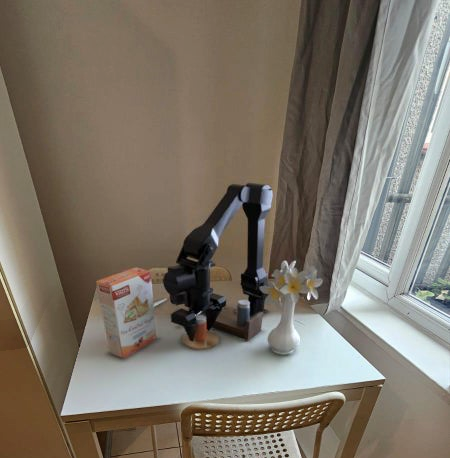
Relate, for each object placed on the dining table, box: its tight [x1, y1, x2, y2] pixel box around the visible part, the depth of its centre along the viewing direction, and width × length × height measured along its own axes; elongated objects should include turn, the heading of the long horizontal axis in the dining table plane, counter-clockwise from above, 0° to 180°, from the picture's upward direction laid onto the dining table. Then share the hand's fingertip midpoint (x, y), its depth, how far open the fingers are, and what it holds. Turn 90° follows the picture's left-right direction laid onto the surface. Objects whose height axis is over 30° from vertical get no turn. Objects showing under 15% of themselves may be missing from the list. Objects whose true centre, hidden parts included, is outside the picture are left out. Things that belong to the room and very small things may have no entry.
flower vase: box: [259, 258, 323, 356], centre depth 90 cm, size 13×18×25 cm
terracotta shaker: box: [194, 315, 208, 342], centre depth 99 cm, size 4×4×7 cm
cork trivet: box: [181, 330, 219, 351], centre depth 101 cm, size 11×11×1 cm
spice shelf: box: [188, 307, 264, 342], centre depth 108 cm, size 8×23×6 cm, turn 55°
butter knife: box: [153, 298, 168, 308], centre depth 116 cm, size 1×27×3 cm
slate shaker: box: [236, 299, 250, 326], centre depth 103 cm, size 4×4×7 cm
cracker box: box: [95, 266, 158, 359], centre depth 92 cm, size 14×6×21 cm, turn 148°
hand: (200, 335), depth 101 cm, fingers open, 8 cm apart
